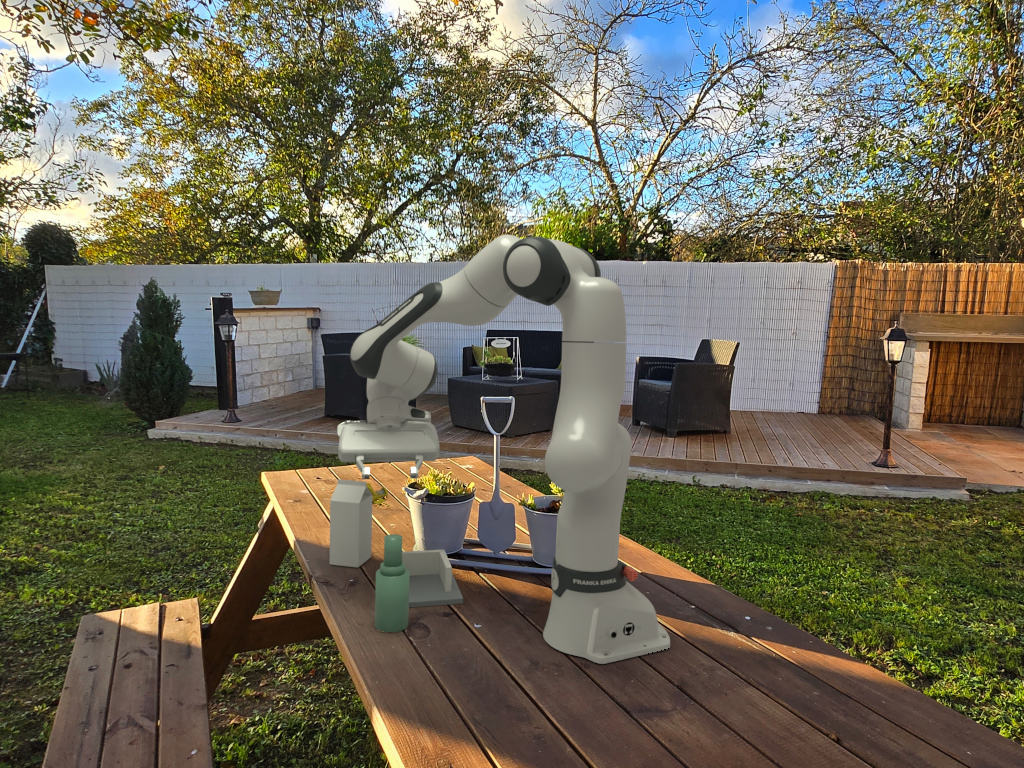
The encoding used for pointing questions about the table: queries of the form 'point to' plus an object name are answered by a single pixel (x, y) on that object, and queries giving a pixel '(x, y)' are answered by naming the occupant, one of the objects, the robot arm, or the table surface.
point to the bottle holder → (431, 579)
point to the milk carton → (350, 524)
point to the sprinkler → (378, 495)
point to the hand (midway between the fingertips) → (390, 477)
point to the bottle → (392, 588)
